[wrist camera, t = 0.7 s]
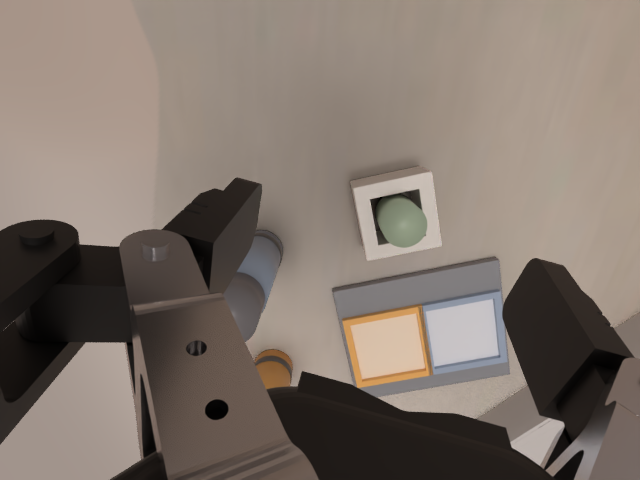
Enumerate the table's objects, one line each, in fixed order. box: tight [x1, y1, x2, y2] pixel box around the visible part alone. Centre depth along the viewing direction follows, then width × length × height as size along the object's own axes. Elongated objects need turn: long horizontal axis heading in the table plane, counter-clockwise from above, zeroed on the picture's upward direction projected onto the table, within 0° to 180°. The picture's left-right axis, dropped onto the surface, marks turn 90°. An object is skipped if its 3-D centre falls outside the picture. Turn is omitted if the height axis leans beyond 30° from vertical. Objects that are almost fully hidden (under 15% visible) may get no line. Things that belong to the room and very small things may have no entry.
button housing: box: [350, 166, 442, 261], centre depth 32 cm, size 6×6×4 cm
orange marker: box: [255, 350, 292, 389], centre depth 33 cm, size 4×4×13 cm
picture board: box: [333, 257, 510, 397], centre depth 37 cm, size 12×15×1 cm
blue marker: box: [223, 230, 283, 342], centre depth 29 cm, size 4×4×13 cm
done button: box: [375, 193, 427, 248], centre depth 30 cm, size 3×3×4 cm
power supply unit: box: [477, 312, 640, 466], centre depth 39 cm, size 19×33×5 cm, turn 132°
